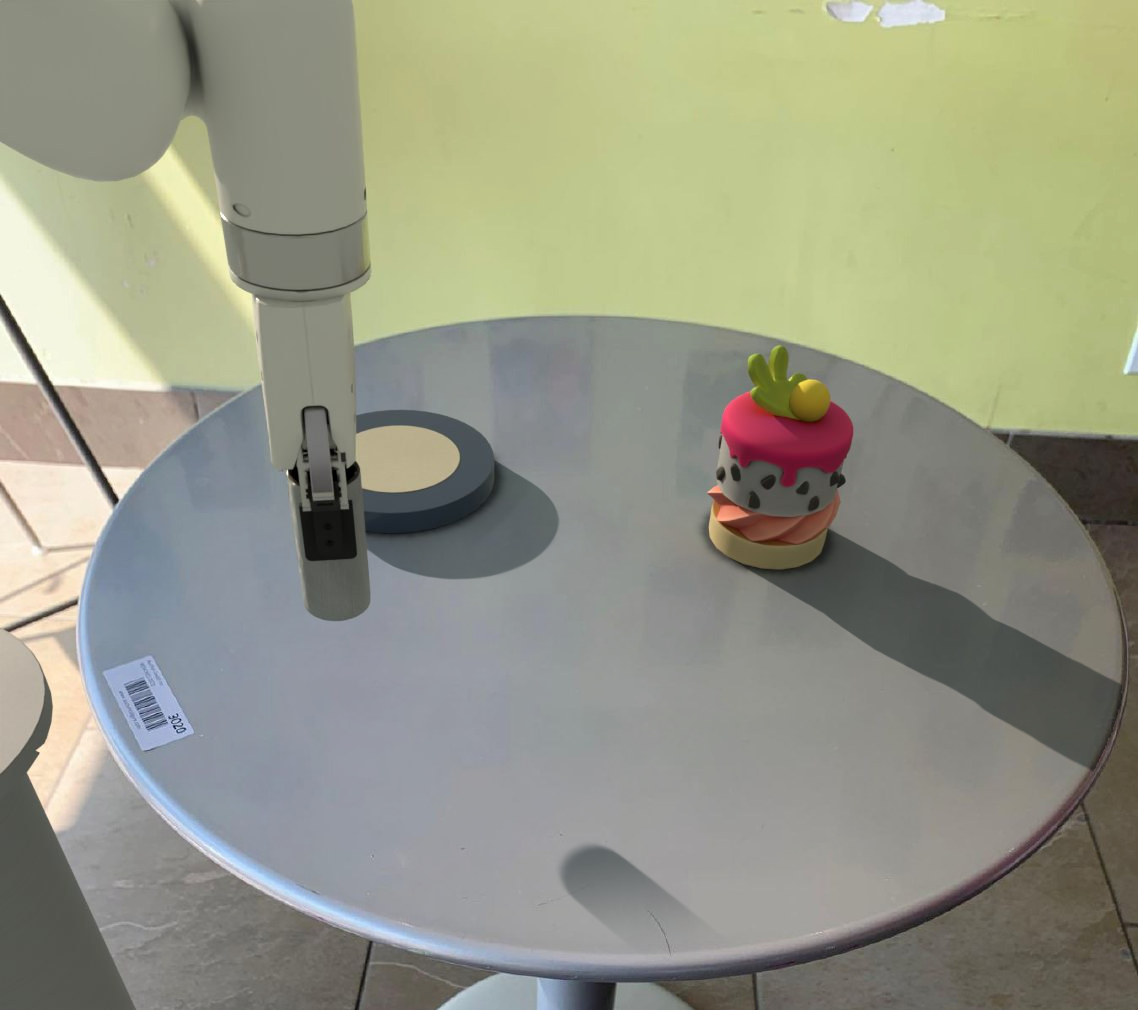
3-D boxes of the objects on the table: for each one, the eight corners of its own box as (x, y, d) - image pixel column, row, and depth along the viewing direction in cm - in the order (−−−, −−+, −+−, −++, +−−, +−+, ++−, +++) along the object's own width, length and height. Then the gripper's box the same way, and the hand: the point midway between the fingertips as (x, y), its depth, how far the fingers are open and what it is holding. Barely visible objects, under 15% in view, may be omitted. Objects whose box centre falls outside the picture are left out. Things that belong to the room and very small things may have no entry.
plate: (303, 541, 91) (299, 520, 90) (298, 435, 103) (295, 415, 101) (507, 525, 94) (507, 504, 92) (480, 423, 105) (480, 403, 104)
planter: (383, 595, 77) (374, 463, 70) (345, 630, 74) (331, 497, 67) (329, 574, 78) (315, 442, 71) (290, 608, 75) (270, 475, 68)
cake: (845, 523, 96) (887, 357, 85) (802, 587, 89) (841, 416, 78) (733, 488, 99) (760, 324, 88) (684, 546, 93) (706, 377, 82)
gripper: (228, 187, 64) (269, 466, 77) (221, 316, 53) (271, 618, 66) (359, 187, 65) (378, 461, 78) (381, 313, 54) (399, 610, 67)
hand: (329, 530), depth 72 cm, fingers closed on planter, 4 cm apart
